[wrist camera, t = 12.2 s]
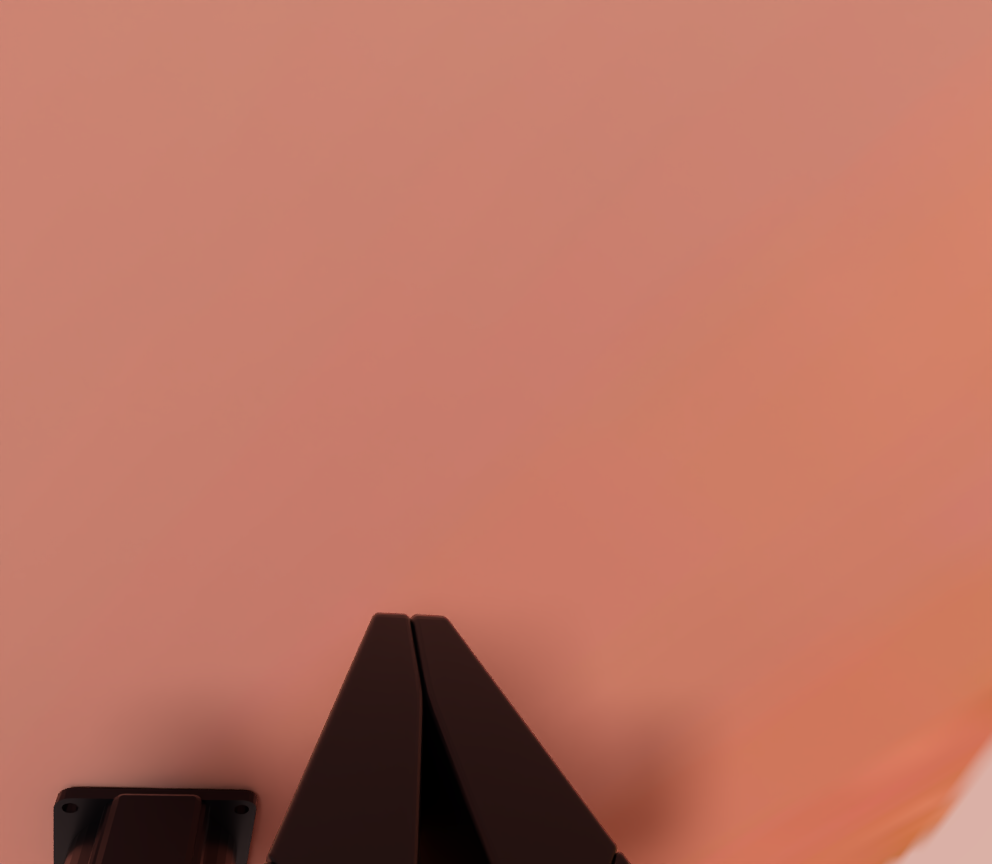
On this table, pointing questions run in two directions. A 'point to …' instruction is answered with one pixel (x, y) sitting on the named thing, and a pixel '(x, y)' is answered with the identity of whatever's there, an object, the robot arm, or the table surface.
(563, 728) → the table surface
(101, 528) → the table surface
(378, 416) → the table surface
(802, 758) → the table surface
